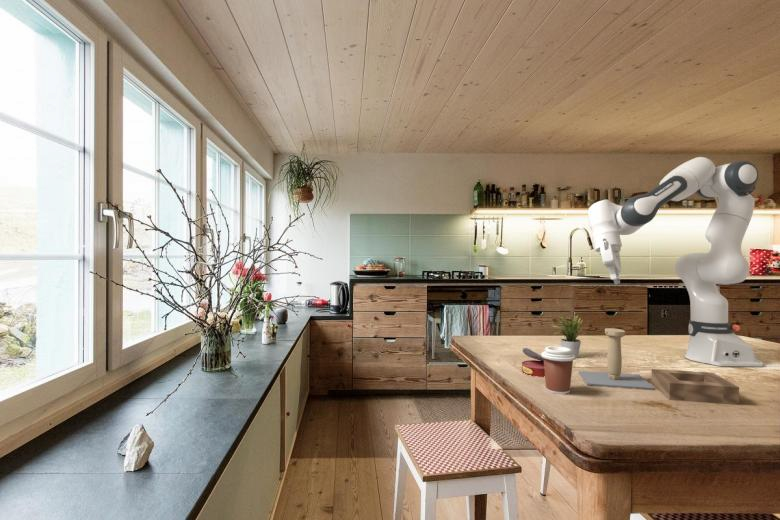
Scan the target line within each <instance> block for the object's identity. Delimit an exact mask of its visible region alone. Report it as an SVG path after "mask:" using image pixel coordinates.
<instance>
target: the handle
mask: <svg viewBox="0 0 780 520" xmlns="http://www.w3.org/2000/svg"><path fill="white" fill-rule="evenodd" d="M604 333H605V336H607V337H608V344H607V345H608V347H607V361H606V362H607V365H606V366H607V373H609V374H608V375H609V379H613V380H619V379H620V374H621V373H622V368H623V367H622V364H623V362H622V359H623V357H622V344H621V343H622V341H621V340H622V339H621V338H623V337H625V336H626V331H625V330H623V329H620V328H614V327H613V328H611V327H610V328H609V327H608V328H606V327H605V328H604Z"/></svg>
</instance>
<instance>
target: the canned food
mask: <svg viewBox="0 0 780 520" xmlns="http://www.w3.org/2000/svg"><path fill="white" fill-rule="evenodd" d="M522 353H523V354H524V355H525V356H527V357H529V358H531V359H534V360H529V359H528V360H523V361H522V362H521V373H522V372H523V373H522V374H524V373H525V374H524V375H526V374H527V376H529V375H531V376H530V377H535V376H538V377H537V378H545V377H544V376H545V370H544V358H542V356H541V354H539V353H538V352H536V351H534V350H532V349H530V348H527V347H523V348H522Z"/></svg>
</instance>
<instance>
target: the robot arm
mask: <svg viewBox="0 0 780 520" xmlns="http://www.w3.org/2000/svg"><path fill="white" fill-rule="evenodd" d="M758 180H759V171H758V168H757V166H756V165H755V164H754V163H752V162H751V161H746V160H740V161H739V160H738V161H734V162H731V163H725V164H722V165H718V166H716V165H715V163H714V162H713V161H712V160H711V159H710V158H707V157H704V156H698V157H697V156H696V157H695V158H692V159H690V160H687V161H685V162H683V163H682V164H680V165H678V166H676V167H675V168H673V169H672V170H671V171H670V172H668V173H667V174H666V175H665V176H664V177H663V178H662V179H661V180H660V182H659V185H657V186H655V187H654V188H653V189H651V190H650V191H649V192H646V193H643V194H638V195H633V196H632V197H630V198H628V199H627V200H626V201H625V202H624V204H622V205H619V204H616V203H613V202H612V201H611V200H609V199H601V200H598V201H596V202H593V203H592V204H591V205H590V206H589V208H588V210H587V218H588V219H587V220H588V223H589V224H588V225H589V228H590V230H591V233H592V235H591V237H592V244H593V249H594V251H595V252H597V253H599V255H600V256H601V260H602V264H603V265H604V266H605V267H606V269H607V271H608V274H609V277H610V280H612V281H613V282H614V284H615V285H618V284H620V283H621V280H620V273H621V272H622V263H621V257H620V252H621V248H622V247H623V245H622V240H621V236H628V235H629V236H630V235H632V234H635V233H636V232H637V231H638V230H640V229H641V228H642V227H643V226H645V225H647V224H648V223H650V222H651V221H653V220H654V218H655V217H656V216H657V215H656V214H657V213H658V212H659V210H660V209H661V208H662V207H663V206H664V205H666V204H667V203H668V202H670V201H673V202H681V201H682V200H684V199H686V198H688V197H690V196H692V195H694V194H696V195H697V196H698V197H700V198H703V199H713V198H717V199H718V201H717V207H716V209H715V211H714V213H713V215H712V217H711V220H710V222H709V224H708V227H707V228H706V231H705V236H704V237H705V239H706V240H707V241H708V243H710V250H709V252H704V253H703V252H692V253H688V254H685V255H681V256H679V257H678V258H677V259H676V261H675V263H674V272H675V274H676V276H677V277H678V278H679V279H681V281H682V282H683V284H684V285H685V288H686V290H687V292H688V296H689V302H690V303H689V304H690V319H688V335H689V336H688V337H689V338H688V345H687V347H686V348H687V349H686V352H685V355H684V358H686V359H688V360H690V361H693V362H698V363H703V364H708V365H709V364H710V365H713V366H718V367H758V368H759V367H764V363H763V361H761V360H759V359H757V358H756V355H755V350H754V348H753V346H752V345H751V344H750V343H748V342H747V341H745V340H744V339H743V338H741V337H740V336H738V335H737V334H735V333H734V331H736V332H738V331H740V330H741V328H740V325H737V324H732V323H730V322H729V301H728V299H727V298H726V297H725V296H723V295H722V294H721V293H720V291H719V289H718V288H717V285H733V284H734V285H735V284H739V283H742V282H744V281H745V280H746V279H747V278H748V277H749V274H750V269H751V268H750V264H749V261H748V260H747V259H746V258H745V257H744V256H743V253H742V243H743V240H744V237H745V234H746V233H747V229H748V228H749V225H750V223H751V220H752V216H753V213H754V209H755V205H756V201H755V198H754V197H753V195H751V194H752V193H753V192H754V190H755V189H756V186H757V184H758V183H757V182H758Z"/></svg>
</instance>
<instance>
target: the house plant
mask: <svg viewBox="0 0 780 520" xmlns="http://www.w3.org/2000/svg"><path fill="white" fill-rule="evenodd" d="M574 315H575V314H572V316H571V318H570V322H569V320H568V319H567V317H566V316H565V315H563V316H560V315H559V317H560V318H561V319H560V320H557V319H556V318H554V321H556V322H557V323H559V324H560V323H561V324H560V326H557V325H551V327H553V328H555V329H554V330H556V331H555V332H554V334H555V336H556V334H557V335H558V334H559V333H560V334H561V335H563V337H564V338H560V345H561V347H566V348H569V349H571V350H572V353H573V354H574V355H575V359H578V358H579V353H580V349H581V344H582V341H581V339H577V338H578V337H579V336H580V334H581V333H584V332H589V331H588V330H584V331H583V330H582V331H580V332H578V331H579V330H580V328H581V327H582V326H583V325H584V324H585V322H583V320H581V317H580V318H579V319H578V317H579V315H576V316H574ZM550 319H553V318H550ZM580 320H581V321H580ZM582 322H583V323H582ZM556 328H557V329H556ZM557 330H558V331H557ZM559 330H560V331H559Z"/></svg>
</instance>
